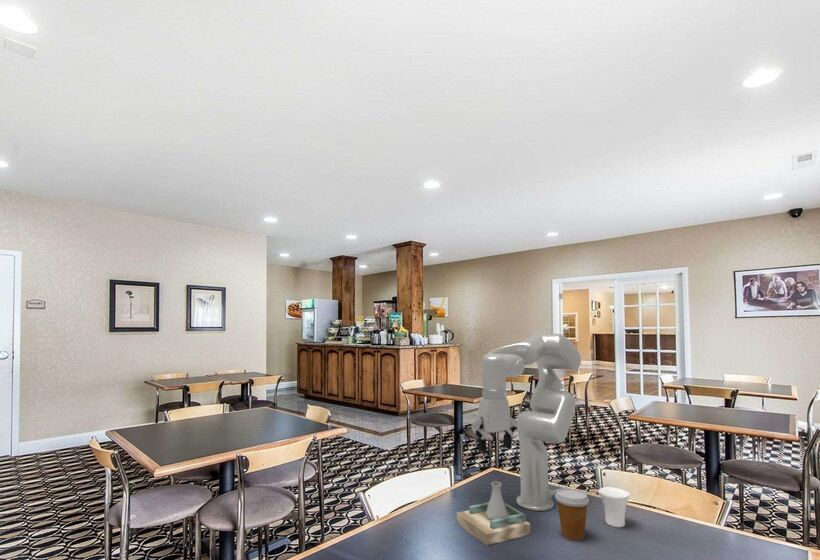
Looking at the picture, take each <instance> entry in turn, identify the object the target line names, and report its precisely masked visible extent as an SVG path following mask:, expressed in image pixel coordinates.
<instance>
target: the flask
mask: <svg viewBox="0 0 820 560" xmlns="http://www.w3.org/2000/svg"><path fill="white" fill-rule="evenodd" d="M490 484H491V495H490V499H489V501H488V502H489V505H488V508H487V511H486V514H485V516H486V517H487V518H488V519H490V520H494V519H499V518H503V517H507V516H508V513H507V510H506V507H505V505H504V503H505V502H504V499H503V495H502V489H501V488H502V483H501V482H500V481H492V482H491V483H490Z"/></svg>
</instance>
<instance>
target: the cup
mask: <svg viewBox="0 0 820 560" xmlns="http://www.w3.org/2000/svg"><path fill="white" fill-rule="evenodd" d="M597 493H598V495H599V496H600V497H601V500H602V503H603V506H604V516H605V523H606V524H607V525H608V526H610V525H611V526H610V527H613V528H614V527H615V528H623V527H625V526H626V517H625V514H626V509H627V504H628V502H629V498H630V496H631V495H630V493H629V492H628V491H626V490H625V489H621V488H617V487H612V486H605V487H604V486H603V487H601V488H599V489H598V491H597Z"/></svg>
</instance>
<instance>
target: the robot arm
mask: <svg viewBox="0 0 820 560" xmlns="http://www.w3.org/2000/svg"><path fill="white" fill-rule="evenodd" d="M481 359H482V360H481V377H482V378H481V383H482V384H481V385H482V387H481V388H482V391H481V392H482V394H481V395H482V398H480V399H479V405H478V409H477V411H478V412H477V420H476V421H475V422H472V424H470V425H471V426H470V427H471V429H472V432H473V434H474V435H475V436H476V438H477V439H478V445H477V446H478V451H479V452H481V453H482V454H487V439H485V438H486V437H487V435H488V434H489V433H498V432H504V434H503V448H506V449H509V450H512V448H513V447H512V444H513V443H512V440H513V439H512V437H513V436H514V432H515V430H517V436H518V441H519V442H518V443H519V462H520V463H519V466H520V467H519V469H520V470H519V471H520V472H519V473H520V475H519V476H520V495H518V496H517V497H516V504H518V505H519V507H521V508H524V509H525V510H526V509H527V510H531V511H539V512H541V511H545V512H546V511H550V510H552V509H553V508H554V506H555V503H554V501H553V499H552V498H553V497H555V494H556V492H557V490H558V489H552V490H551V488H549V486H550V485H549V464H548V463H549V460H548V457H549V456H548V451H547V447H546V446H545V444H544V442H545V443H551V444H558V445H559V444H562V443H563V442H564V441H565V440H566V439H567V437H568V436H567V435H568V433H569V430H570V427H571V424H572V421H573V419H574V415H575V412H576V400H575V397H574V396H573V395H572V394H571V393H570V392H569V391H566V390H565V391H564V390H561V389H562V382H561V379H560V378H559V376H558V375H557V373H555V370H561V371H576V370H577V369H579V368H580V366H581V364H582V363H581V362H582V358H581V353H580V351H579V350H578V348H577V347H576V346H575V345H574V344H573V343H572V342H571V341H570V339H569V338H567V337H566V336H565V335H563V334H561V333H537V334H534V335H531V336H530V337H528V338H527V339H523V341H520V342H515V343H513V344H509V345H505V346H501V347H498V348H494V349H493V350H490V351H489V352H487V353H486V354H485V355H484V356H483V357H482V358H481ZM534 363H536V365H537V371H538V375H539V376H538V382H537V384H536V386H535V388H534V391H533V393H532V395H531V398H530V401H529V406H530V409H531V410H525V411H522V412H520V413H519V414H518V415H517V417H516V418H513V417H511V411H510V404H509V399H508V398H507V395H508V394H509V390H508V389H507V378H518V377H520V376H521V375H522V374H523V373H524V371H525V368H526V367H525V366H530V365H533V364H534Z"/></svg>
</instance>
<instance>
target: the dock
mask: <svg viewBox="0 0 820 560" xmlns="http://www.w3.org/2000/svg"><path fill="white" fill-rule="evenodd" d="M489 502H490V501H488V502H484V503H480V504H479V503H478V504H474V505H469V506H468V510H464V511H458V512H456V524H458V525H459V526H460V527H461V528H463V529H465V531H466V532H468V533H469V534H471V535H472V536H473V537H475V538H476V539H477V540H479V541H480V542H481V543H483V544H484V545H485V546H490V544H491V545H495V544H498V543H503V542H505V541H509V540H513V539H517V538H521V537H526V536H529V535H531V523H530V522H528V521H526V514H525V513H523V512H522V511H520V510H518V509H516V508H515V507H513V506H512V505H510V504H508V503H506V502H504V505H505V507H506V510H507V513H508V516H507V517H503V518H499V519H494V520H490V519H488V518H487V517H486V516H485V514H486V511H487V508H488V505H489ZM494 543H495V544H494Z"/></svg>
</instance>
